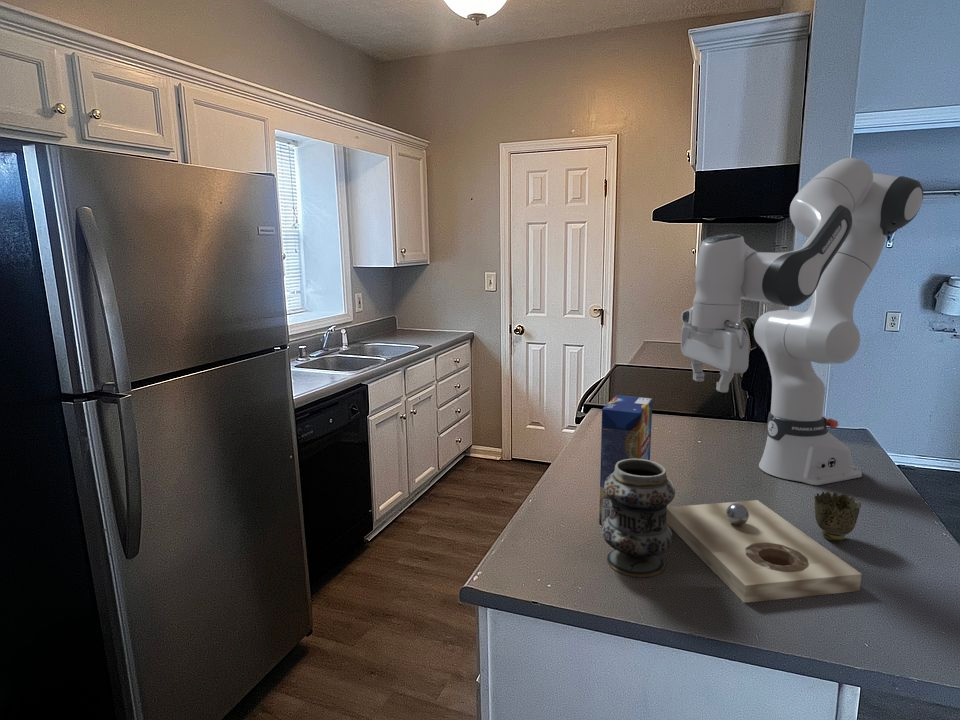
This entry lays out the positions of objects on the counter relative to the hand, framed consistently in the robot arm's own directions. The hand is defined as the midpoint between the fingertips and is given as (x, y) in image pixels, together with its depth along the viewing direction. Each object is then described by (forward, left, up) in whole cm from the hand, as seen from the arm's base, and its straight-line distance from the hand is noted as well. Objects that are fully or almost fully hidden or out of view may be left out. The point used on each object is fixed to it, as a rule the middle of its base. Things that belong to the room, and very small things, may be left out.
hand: (709, 386), depth 118 cm
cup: (-18, +15, -27) cm, 36 cm away
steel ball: (0, +12, -22) cm, 25 cm away
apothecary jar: (+22, +17, -27) cm, 39 cm away
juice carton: (+17, -1, -27) cm, 32 cm away
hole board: (0, +17, -27) cm, 32 cm away
